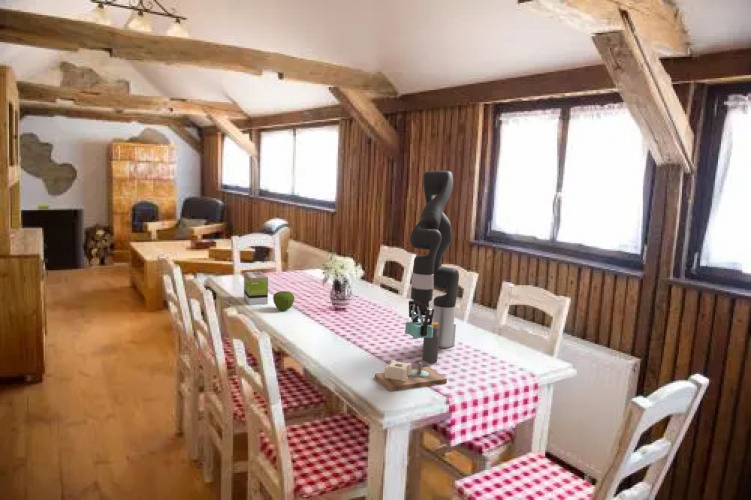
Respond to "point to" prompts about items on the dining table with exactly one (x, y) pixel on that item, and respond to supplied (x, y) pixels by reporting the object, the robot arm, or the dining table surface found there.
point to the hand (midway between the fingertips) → (419, 333)
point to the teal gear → (417, 330)
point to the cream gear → (398, 370)
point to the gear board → (412, 379)
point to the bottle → (431, 346)
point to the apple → (283, 300)
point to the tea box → (255, 288)
